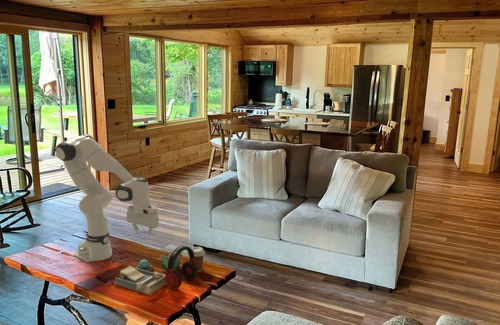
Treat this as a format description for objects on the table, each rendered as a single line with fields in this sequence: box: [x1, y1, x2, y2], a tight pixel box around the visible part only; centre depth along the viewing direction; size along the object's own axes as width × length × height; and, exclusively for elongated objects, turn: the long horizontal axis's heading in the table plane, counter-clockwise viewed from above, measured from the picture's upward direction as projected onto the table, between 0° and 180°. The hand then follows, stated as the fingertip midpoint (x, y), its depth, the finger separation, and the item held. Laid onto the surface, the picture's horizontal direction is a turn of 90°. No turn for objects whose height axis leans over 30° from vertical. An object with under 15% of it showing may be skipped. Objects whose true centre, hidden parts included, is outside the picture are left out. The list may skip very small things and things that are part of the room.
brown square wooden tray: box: [134, 264, 154, 272], centre depth 218 cm, size 7×7×2 cm
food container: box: [159, 252, 183, 274], centre depth 216 cm, size 12×6×10 cm, turn 123°
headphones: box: [164, 245, 198, 290], centre depth 202 cm, size 18×10×20 cm, turn 147°
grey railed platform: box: [114, 267, 154, 292], centre depth 204 cm, size 14×14×3 cm
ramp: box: [119, 265, 144, 282], centre depth 205 cm, size 10×7×4 cm
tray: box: [136, 271, 167, 296], centre depth 200 cm, size 8×14×4 cm, turn 154°
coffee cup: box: [190, 246, 206, 273], centre depth 219 cm, size 9×9×12 cm
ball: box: [138, 259, 150, 269], centre depth 217 cm, size 5×5×5 cm
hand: (142, 232), depth 214 cm, fingers open, 8 cm apart
